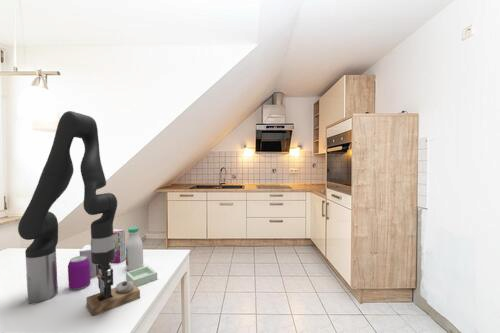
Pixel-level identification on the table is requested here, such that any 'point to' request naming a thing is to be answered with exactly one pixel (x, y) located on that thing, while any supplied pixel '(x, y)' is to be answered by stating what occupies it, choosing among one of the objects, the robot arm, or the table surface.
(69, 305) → the table surface
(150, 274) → the tray
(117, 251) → the candy bar box
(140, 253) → the milk bottle
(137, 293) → the block
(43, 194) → the robot arm
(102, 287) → the pin
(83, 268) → the beverage can
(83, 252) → the small box
